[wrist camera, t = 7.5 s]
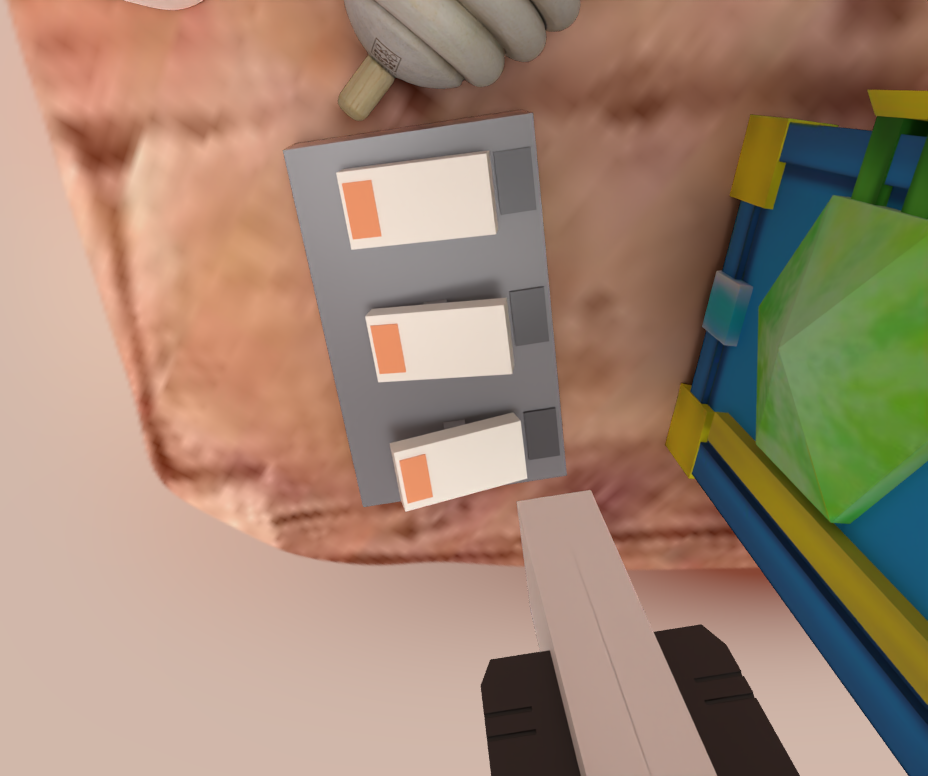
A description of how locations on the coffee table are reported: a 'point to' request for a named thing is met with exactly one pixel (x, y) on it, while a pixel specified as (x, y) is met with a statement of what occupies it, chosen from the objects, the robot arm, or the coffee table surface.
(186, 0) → the can
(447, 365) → the rocker
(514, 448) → the small box
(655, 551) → the coffee table surface
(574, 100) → the coffee table surface
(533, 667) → the robot arm
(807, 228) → the decorative book
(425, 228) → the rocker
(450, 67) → the grey ribbed rounded piece
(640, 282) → the coffee table surface
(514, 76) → the coffee table surface
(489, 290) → the rocker switch panel
